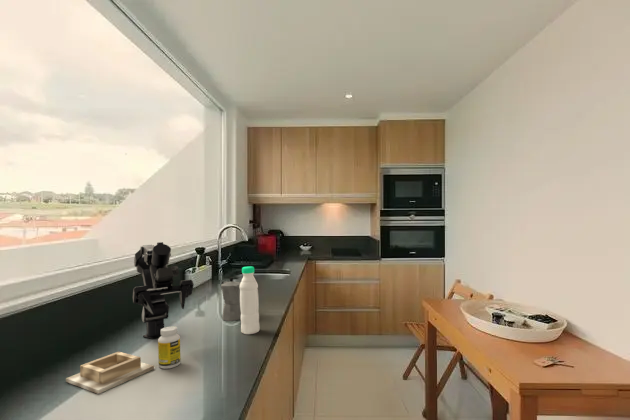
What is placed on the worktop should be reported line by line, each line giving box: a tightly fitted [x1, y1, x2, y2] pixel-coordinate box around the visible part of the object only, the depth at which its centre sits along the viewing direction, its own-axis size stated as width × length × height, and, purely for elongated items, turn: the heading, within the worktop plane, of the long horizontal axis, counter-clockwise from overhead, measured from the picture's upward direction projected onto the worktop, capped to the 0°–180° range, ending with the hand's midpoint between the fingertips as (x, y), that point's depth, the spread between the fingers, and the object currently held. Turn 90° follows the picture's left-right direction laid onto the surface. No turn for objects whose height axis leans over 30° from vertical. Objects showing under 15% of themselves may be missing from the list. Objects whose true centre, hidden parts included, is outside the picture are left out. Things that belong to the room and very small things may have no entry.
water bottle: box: [239, 265, 261, 335], centre depth 134 cm, size 7×7×25 cm
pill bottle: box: [157, 325, 181, 370], centre depth 106 cm, size 6×6×11 cm
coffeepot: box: [220, 276, 242, 322], centre depth 155 cm, size 15×9×18 cm, turn 44°
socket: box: [65, 351, 155, 395], centre depth 100 cm, size 16×16×4 cm
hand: (168, 310), depth 113 cm, fingers open, 9 cm apart
